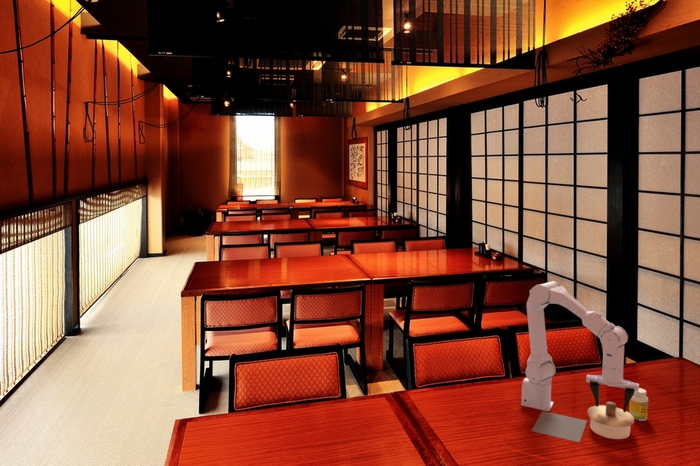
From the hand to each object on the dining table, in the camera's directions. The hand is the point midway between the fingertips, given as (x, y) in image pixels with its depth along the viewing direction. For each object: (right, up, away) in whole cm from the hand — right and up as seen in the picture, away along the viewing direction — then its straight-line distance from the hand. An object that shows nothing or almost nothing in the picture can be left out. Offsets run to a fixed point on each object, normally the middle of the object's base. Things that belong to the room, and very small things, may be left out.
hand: (610, 408), depth 162 cm
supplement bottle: (+14, -7, +10) cm, 18 cm away
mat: (-14, -8, +4) cm, 17 cm away
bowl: (0, -8, +1) cm, 8 cm away
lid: (0, -3, 0) cm, 3 cm away
